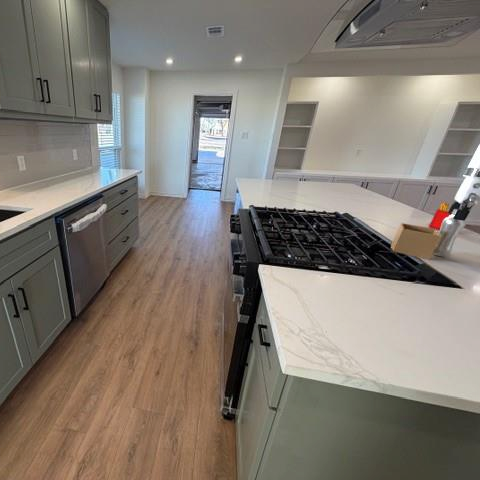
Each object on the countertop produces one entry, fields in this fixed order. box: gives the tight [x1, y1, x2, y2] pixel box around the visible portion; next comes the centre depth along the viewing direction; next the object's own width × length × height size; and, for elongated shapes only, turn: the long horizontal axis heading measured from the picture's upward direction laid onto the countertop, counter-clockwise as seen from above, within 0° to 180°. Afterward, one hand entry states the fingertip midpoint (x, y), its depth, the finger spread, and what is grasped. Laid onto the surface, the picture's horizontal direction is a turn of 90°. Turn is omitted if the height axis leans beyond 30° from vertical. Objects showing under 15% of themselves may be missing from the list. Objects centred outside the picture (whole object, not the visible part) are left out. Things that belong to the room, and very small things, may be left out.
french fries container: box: [428, 202, 452, 231], centre depth 138 cm, size 7×9×14 cm
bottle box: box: [390, 222, 441, 260], centre depth 106 cm, size 11×10×12 cm
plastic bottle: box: [432, 209, 467, 257], centre depth 104 cm, size 6×7×20 cm
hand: (455, 216), depth 102 cm, fingers open, 9 cm apart
